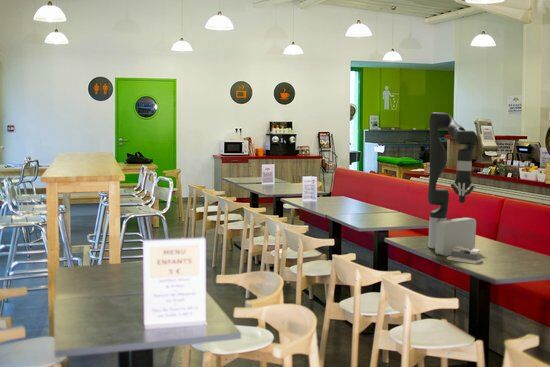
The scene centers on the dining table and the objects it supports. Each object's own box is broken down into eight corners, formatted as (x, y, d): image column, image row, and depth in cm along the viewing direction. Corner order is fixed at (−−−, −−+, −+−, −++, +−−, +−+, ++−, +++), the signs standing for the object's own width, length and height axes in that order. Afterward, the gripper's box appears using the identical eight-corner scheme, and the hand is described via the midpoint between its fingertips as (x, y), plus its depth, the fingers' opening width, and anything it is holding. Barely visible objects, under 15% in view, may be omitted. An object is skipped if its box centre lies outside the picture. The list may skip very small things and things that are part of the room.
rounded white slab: (462, 248, 377) (464, 216, 375) (474, 250, 371) (476, 218, 369) (431, 253, 359) (432, 220, 357) (442, 256, 353) (444, 222, 351)
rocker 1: (457, 247, 351) (457, 245, 351) (462, 248, 349) (462, 246, 349) (453, 251, 348) (453, 249, 347) (459, 252, 346) (459, 249, 345)
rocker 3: (473, 250, 346) (473, 248, 346) (479, 251, 344) (479, 249, 344) (470, 253, 342) (470, 251, 342) (476, 254, 340) (476, 252, 340)
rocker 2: (464, 251, 348) (465, 249, 349) (470, 252, 347) (471, 250, 347) (461, 249, 345) (462, 247, 345) (467, 250, 343) (468, 248, 343)
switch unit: (454, 256, 353) (455, 249, 353) (482, 260, 344) (483, 254, 344) (446, 259, 346) (447, 252, 345) (475, 264, 337) (475, 257, 336)
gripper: (479, 170, 344) (477, 203, 346) (454, 168, 352) (452, 200, 354) (473, 170, 338) (471, 205, 340) (448, 168, 346) (446, 202, 348)
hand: (461, 202), depth 347 cm, fingers closed
